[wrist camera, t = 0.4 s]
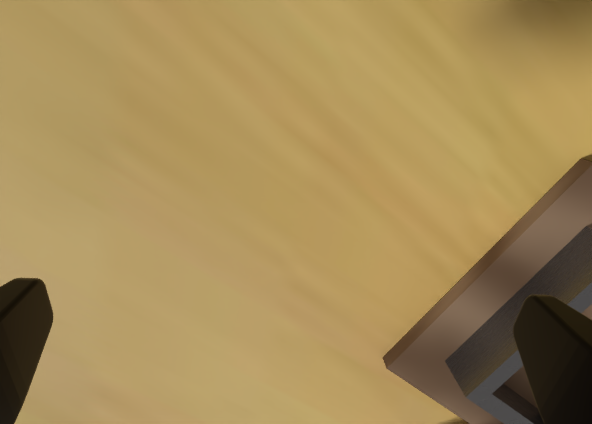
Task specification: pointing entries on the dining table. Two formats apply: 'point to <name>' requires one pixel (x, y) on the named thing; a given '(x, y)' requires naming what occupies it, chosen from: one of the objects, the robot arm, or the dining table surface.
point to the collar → (500, 341)
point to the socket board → (492, 295)
